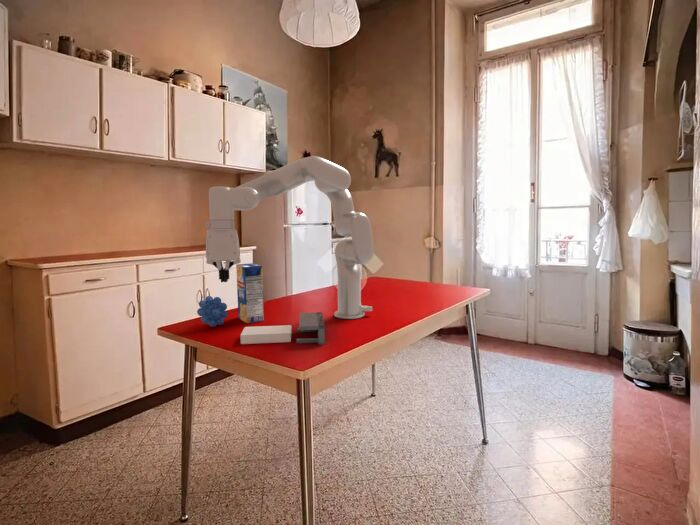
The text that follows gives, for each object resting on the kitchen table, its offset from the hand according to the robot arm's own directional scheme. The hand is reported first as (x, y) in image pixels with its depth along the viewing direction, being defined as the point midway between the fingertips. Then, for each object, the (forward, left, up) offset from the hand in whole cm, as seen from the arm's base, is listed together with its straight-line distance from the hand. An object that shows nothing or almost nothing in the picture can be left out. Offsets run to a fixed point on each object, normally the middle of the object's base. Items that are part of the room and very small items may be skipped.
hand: (224, 281), depth 130 cm
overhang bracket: (-28, 0, -20) cm, 35 cm away
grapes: (+8, -17, -20) cm, 28 cm away
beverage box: (-4, -27, -20) cm, 34 cm away
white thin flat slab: (-13, 0, -20) cm, 24 cm away
